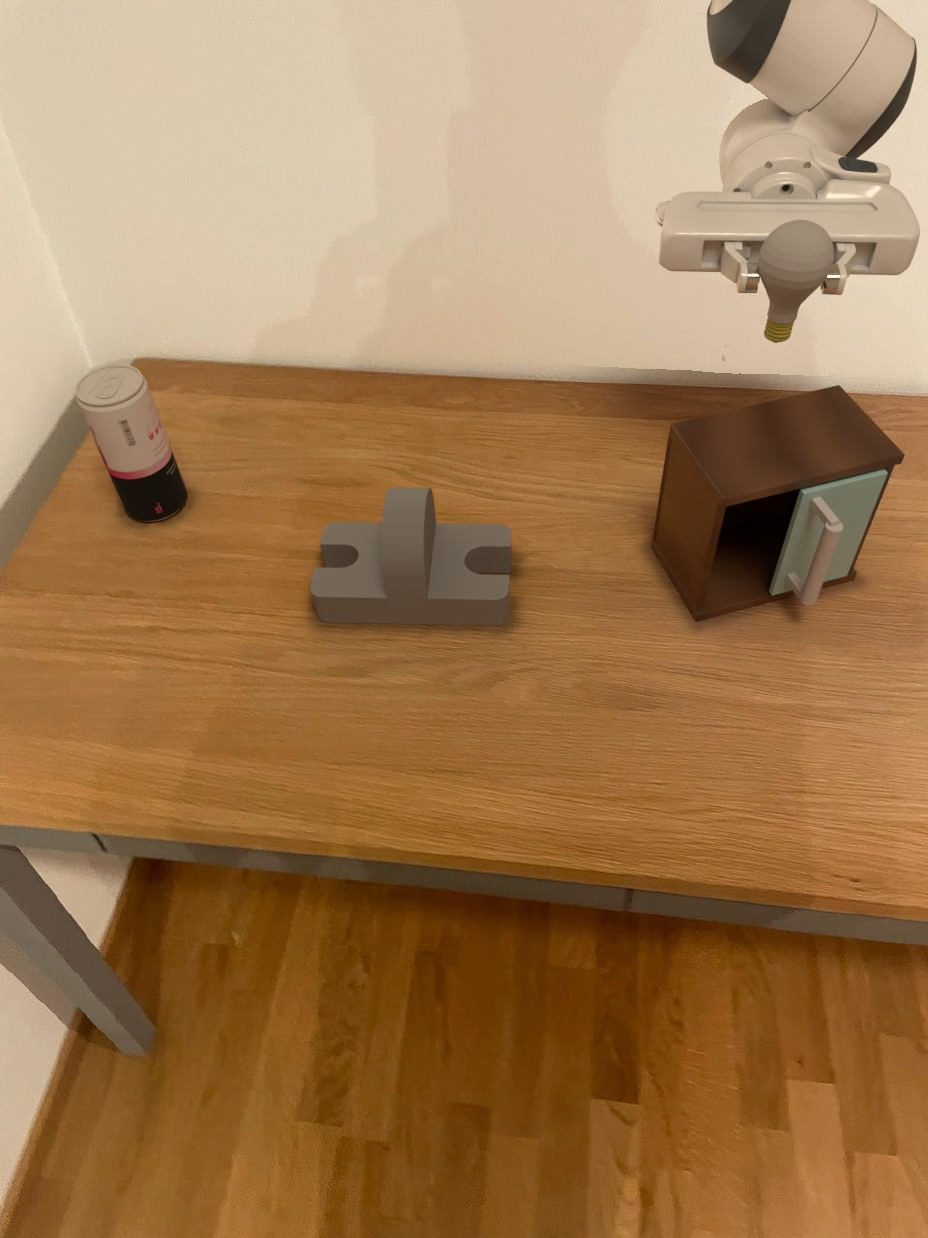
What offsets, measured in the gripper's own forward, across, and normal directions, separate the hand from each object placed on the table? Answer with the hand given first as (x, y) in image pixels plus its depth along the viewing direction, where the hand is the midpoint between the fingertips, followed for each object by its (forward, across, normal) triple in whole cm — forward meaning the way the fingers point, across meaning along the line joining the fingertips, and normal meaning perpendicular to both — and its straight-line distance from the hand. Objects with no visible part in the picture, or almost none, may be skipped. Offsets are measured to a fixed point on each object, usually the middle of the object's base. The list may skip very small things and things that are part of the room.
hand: (792, 285), depth 72 cm
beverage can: (+2, -60, +26) cm, 65 cm away
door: (+10, +6, +24) cm, 27 cm away
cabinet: (+5, +1, +26) cm, 26 cm away
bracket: (+11, -30, +26) cm, 41 cm away
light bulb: (-1, 0, +6) cm, 6 cm away
